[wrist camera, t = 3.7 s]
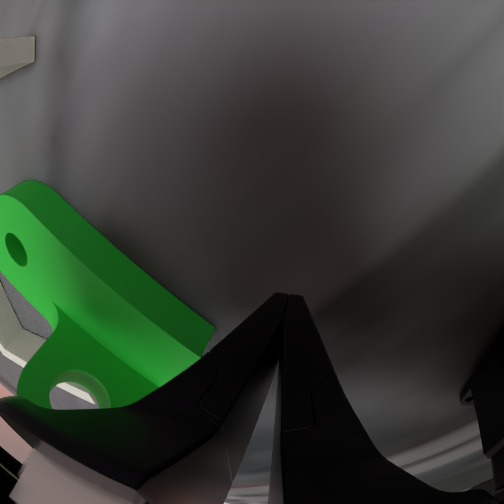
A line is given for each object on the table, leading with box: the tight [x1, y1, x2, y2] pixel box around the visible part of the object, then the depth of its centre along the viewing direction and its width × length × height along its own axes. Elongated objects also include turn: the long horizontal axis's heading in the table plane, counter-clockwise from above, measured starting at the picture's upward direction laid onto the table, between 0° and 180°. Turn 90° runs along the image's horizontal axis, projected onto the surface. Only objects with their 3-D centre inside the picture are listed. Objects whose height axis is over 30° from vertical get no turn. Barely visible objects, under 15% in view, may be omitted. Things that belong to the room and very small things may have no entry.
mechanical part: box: [0, 180, 215, 409], centre depth 10 cm, size 12×6×8 cm, turn 51°
